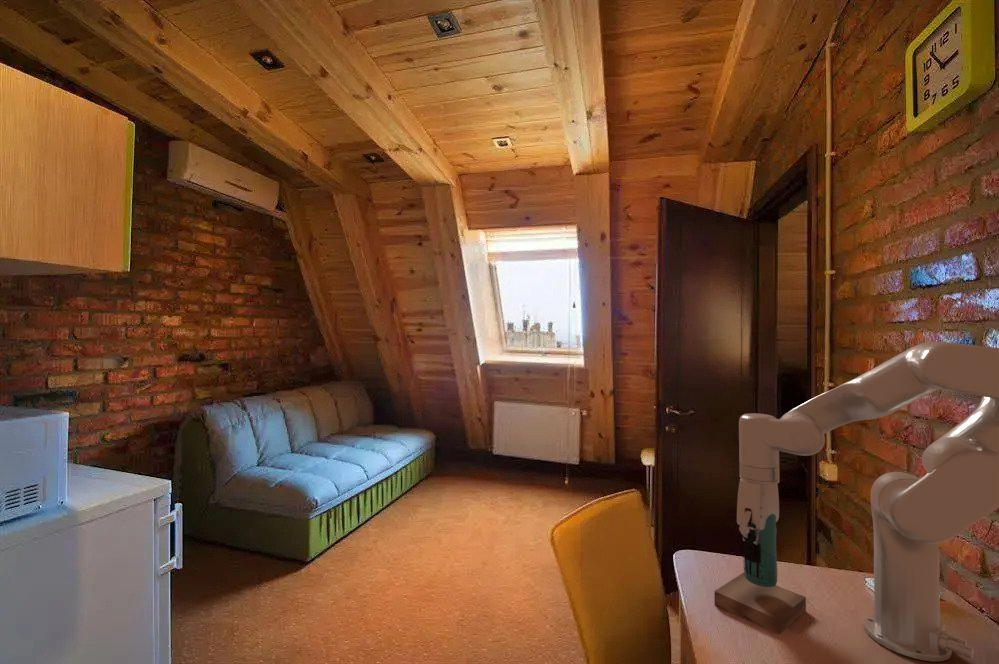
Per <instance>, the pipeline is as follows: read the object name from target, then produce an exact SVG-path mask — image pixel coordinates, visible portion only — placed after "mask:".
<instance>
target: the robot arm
mask: <svg viewBox="0 0 999 664" xmlns="http://www.w3.org/2000/svg"><path fill="white" fill-rule="evenodd" d="M939 390H941V391H946V392H950V393H952V392H953V393H957V394H962V395H969V396H970V395H971V396H975V397H976V396H977V397H981V400H980V403H979V404H978V406H977V407H976V409H975V410H973V412H971V414H969V415H967V417H966V418H964V420H962V421H961V422H959V423H958V424H956V426H954V427H953V428H952V429H950V430H949V431H947V432H946V433H945V434H944V435H943V434H942V436H940V437H939V438H937V440H935V441H934V442H932V443H931V444H930V445H928V446H927V447H926V448H925V450H924V451H923V453H922V456H921V463H922V466H923V468H924V470H925V472H926V473H925V474H924V475H922V476H921V477H918V476H916V475H914V474H911V473H906V472H904V471H903V472H902V471H891V472H886V473H884V474H882V475H880V476H879V477H878V478H876V480H875V481H874V482H873V484H872V486H871V487H870V488H871V489H870V506H871V507H870V508H871V517H872V524H873V526H872V527H873V529H872V530H873V583H874V584H873V587H874V588H873V593H874V594H873V596H874V597H873V601H874V603H873V605H874V613H873V614H874V615H870V616H867V617H866V618H865V620H864V630H865V631H866V633H867V634H868V636H870V638H871V639H873V640H874V641H875V642H877V643H878V644H880V645H881V646H883V647H885V648H887V649H889V650H890V651H893V652H895V653H896V654H897V653H898V654H899V655H902V656H905V657H909V658H912V659H916V660H921V661H926V662H935V663H937V662H944V661H947V660H949V659H950V658H951V657H952V654H953V653H952V652H954V653H957V654H958V655H960V656H963V657H965V658H967V659H969V660H973V659H974V647H972V646H970V645H967V644H968V643H967V639H964V638H961V637H958V636H955V635H952V634H950V633H949V632H948V631H946V623H944V622H942V621H941V618H940V617H941V616H940V615H941V608H940V607H941V606H940V604H941V603H940V602H941V601H940V597H941V596H940V565H941V564H940V546H939V545H940V543H944V542H946V541H949V540H951V539H953V538H955V537H957V536H958V535H960V534H961V533H963V532H965V531H966V530H968V528H970V527H972V526H973V525H975V524H976V523H978V522H979V521H981V520H982V519H983V518H985V517H986V516H988V515H990V514H991V513H992V512H995V510H997V509H998V508H999V347H991V346H981V345H973V344H965V343H957V342H952V341H951V342H949V341H946V342H945V341H927V342H921V343H918V344H916V345H914V346H912V347H910V348H908V349H906V350H904V351H902V352H901V353H899V354H896V355H895V356H894V357H891V358H890V359H888V360H886V361H884V362H883V363H881V364H878V365H877V366H875V367H873V368H872V369H870V370H868V371H866V372H864V373H863V374H860V375H859V376H856V377H855V378H853V379H851V380H849V381H847V382H845V383H842V384H840V385H838V386H836V387H835V388H832V389H830V390H827V391H825V392H823V393H821V394H819V395H817V396H814V397H812V398H811V399H809V400H807V401H805V402H804V403H801V404H800V405H798V406H796V407H794V408H792V409H791V410H789V411H788V412H786V413H784V414H783V415H782V416H781V417H780V418H776V417H775V416H774V415H771V414H765V413H756V412H755V413H752V412H751V413H744V414H742V415H740V417H739V419H738V441H739V442H738V444H739V445H738V446H739V447H738V449H739V452H738V453H739V456H738V457H739V459H738V461H739V462H738V463H739V464H738V465H739V478H740V479H739V482H738V489H737V500H736V501H737V502H736V523H737V525H738V526H739V527H738V530H739V532H740V533H741V536H742V542H743V541H744V542H743V550H744V551H743V555H744V558H745V559H746V560H749V561H752V562H754V563H757V564H759V563H761V544H758V543H759V537H760V531H761V530H763V529H765V526H766V520H767V518H768V517H769V516H770V515H771V514H775V516H776V525H777V524H778V521H779V518H780V497H779V485H778V484H780V452H782V453H788V454H792V455H796V456H803V457H804V456H805V457H807V456H813V455H816V454H817V453H819V452H821V450H822V449H823V448H824V446H825V443H826V437H825V435H826V434H827V433H829V432H831V431H833V430H835V429H837V428H839V427H842V426H845V425H847V424H850V423H855V422H857V421H866V420H867V421H868V420H877V419H881V418H885V417H887V416H889V415H892V414H893V413H895V412H897V411H899V410H901V409H903V408H904V407H906V406H908V405H910V404H913V403H915V402H916V401H919V400H920V399H923V398H925V397H926V396H929V395H931V394H932V393H934V392H936V391H939ZM751 523H752V524H755V525H756V528H754V527H751V526H750V524H751ZM749 529H750V530H753V531H755V535H754V536H753V534H752V533H750V531H749ZM777 531H778V530H777V528H776V533H777Z"/></svg>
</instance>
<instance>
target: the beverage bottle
mask: <svg viewBox="0 0 999 664" xmlns="http://www.w3.org/2000/svg"><path fill="white" fill-rule="evenodd" d="M750 526H751V527H754V528H756V525H755V524H752V523H751V524H750ZM776 529H777V524H776V516H775V514H771V515H770V516H769V517H768V518H767V520H766V526H765V529H763V530H761V531H760V537H759V543H758V544H761V563H759V564H757V563H754V562H752V561H749V560H746V559H745V558H744V554H742V555H743V559H742V561H743V573H744V574H745V578H746V579H747V580H748V581H749V582H751V583H753V584H755V585H758V586H763V587H772V586H775V585H776V586H777V584H778V571H779V570H778V553H777V532H776ZM749 531H750V533H752V534H753V536H754V535H755V531H753V530H750V529H749ZM742 542H743V543H744V541H743V540H742ZM743 552H744V549H743Z"/></svg>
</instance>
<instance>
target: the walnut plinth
mask: <svg viewBox="0 0 999 664" xmlns="http://www.w3.org/2000/svg"><path fill="white" fill-rule="evenodd" d="M714 606H716V607H718V608H720V609H722V610H724V611H726V612H729V613H731V614H734V615H735V616H737V617H740V618H742V619H744V620H746V621H748V622H750V623H752V624H754V625H757V626H759V627H761V628H763V629H765V630H767V631H770V632H771V633H773V634H776V635H778V636H781V634H782V633H784V631H785V630H787V629H788V628H789V627H790V626H791V625H792V624H793V623H794V622H795V621H797V620H798V619H799V618H800V617H801V616H802V615H803V614H805V613H806V611H807V597H806V596H804V595H801V594H799V593H797V592H794V591H791V590H790V589H786V588H784V587H782V586H779V585H777V584H776V585H775V586H772V587H763V586H758V585H755V584H753V583H751V582H749V581H748V580H747V579H746V578H745V574H744V572H742V573H740V574H739V575H737V576H736V577H734V578H732V579H731V580H730V581H728V582H727V583H725V584H723V585H722V586H720V587H719V588H717V589H716V590H714Z"/></svg>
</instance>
